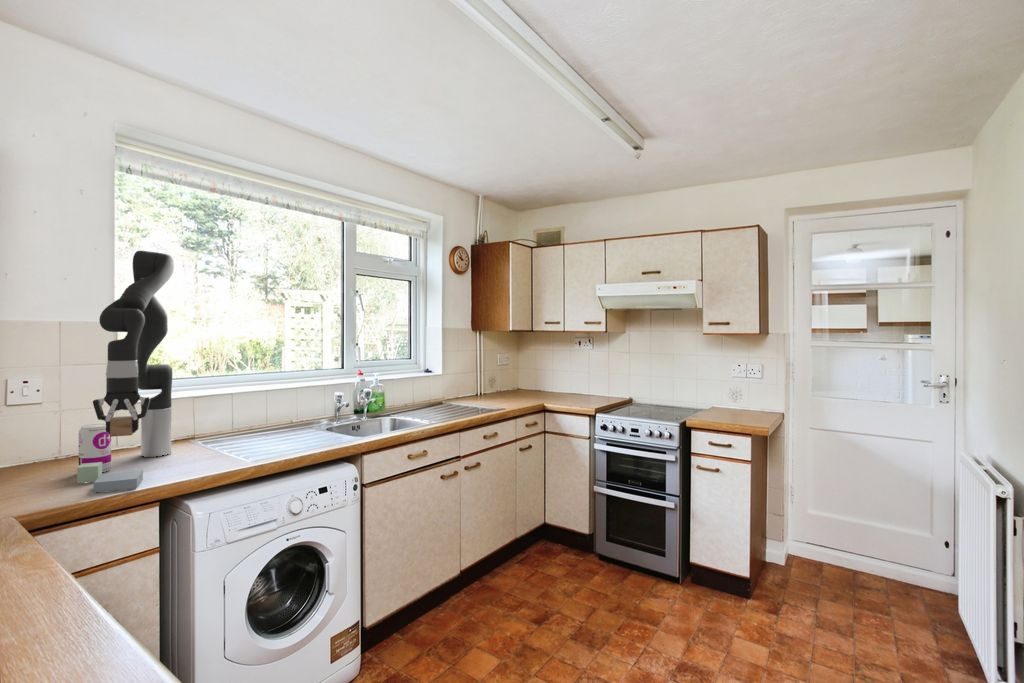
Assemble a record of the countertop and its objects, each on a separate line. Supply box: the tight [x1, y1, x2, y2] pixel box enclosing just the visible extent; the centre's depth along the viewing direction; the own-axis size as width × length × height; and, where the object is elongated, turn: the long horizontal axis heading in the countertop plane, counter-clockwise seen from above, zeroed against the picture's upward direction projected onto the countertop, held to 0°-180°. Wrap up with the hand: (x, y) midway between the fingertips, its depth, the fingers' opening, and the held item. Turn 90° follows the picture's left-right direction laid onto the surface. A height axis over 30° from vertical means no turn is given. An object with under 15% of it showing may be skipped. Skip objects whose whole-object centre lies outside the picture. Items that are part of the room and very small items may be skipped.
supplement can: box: [78, 423, 112, 473], centre depth 166 cm, size 8×8×15 cm
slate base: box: [93, 469, 144, 494], centre depth 152 cm, size 10×10×3 cm
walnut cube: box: [110, 415, 134, 438], centre depth 152 cm, size 5×5×5 cm
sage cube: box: [76, 462, 103, 484], centre depth 157 cm, size 5×5×5 cm
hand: (122, 432), depth 152 cm, fingers closed on walnut cube, 5 cm apart
